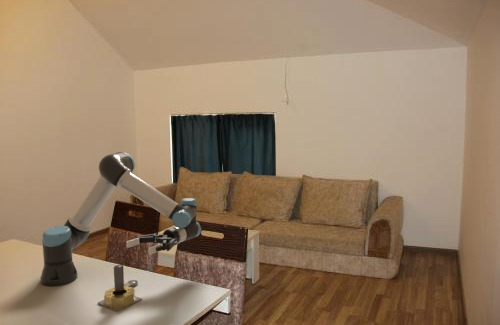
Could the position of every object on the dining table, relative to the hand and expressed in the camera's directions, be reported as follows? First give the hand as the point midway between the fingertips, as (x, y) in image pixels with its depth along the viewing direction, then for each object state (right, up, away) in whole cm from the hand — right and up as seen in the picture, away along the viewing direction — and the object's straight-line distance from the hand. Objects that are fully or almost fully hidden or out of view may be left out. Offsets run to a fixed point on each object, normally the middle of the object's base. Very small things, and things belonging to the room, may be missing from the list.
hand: (137, 247), depth 166 cm
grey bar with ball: (-8, -19, +6) cm, 21 cm away
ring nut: (-5, -20, -6) cm, 22 cm away
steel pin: (-5, -20, -6) cm, 21 cm away
